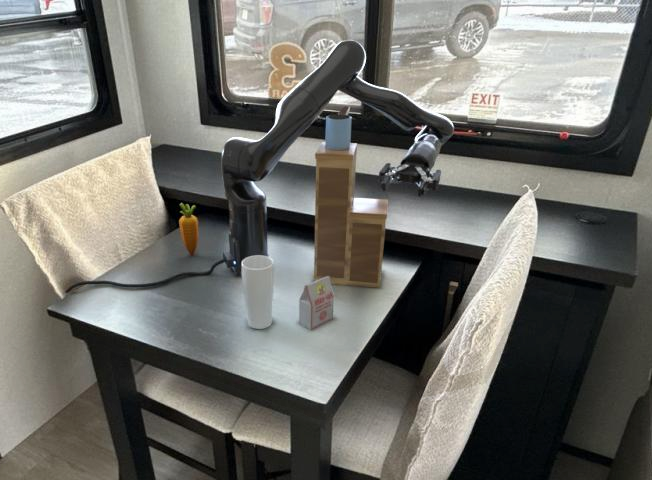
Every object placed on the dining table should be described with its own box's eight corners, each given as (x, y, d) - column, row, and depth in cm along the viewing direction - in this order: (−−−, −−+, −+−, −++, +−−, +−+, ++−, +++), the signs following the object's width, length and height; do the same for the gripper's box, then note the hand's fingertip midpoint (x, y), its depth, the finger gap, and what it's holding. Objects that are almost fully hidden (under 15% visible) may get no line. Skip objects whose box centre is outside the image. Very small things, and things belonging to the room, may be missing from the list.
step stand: (380, 288, 132) (392, 156, 116) (312, 282, 135) (315, 153, 119) (382, 270, 140) (393, 144, 124) (318, 265, 143) (321, 141, 127)
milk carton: (299, 322, 120) (299, 282, 115) (321, 312, 124) (322, 272, 118) (310, 329, 117) (311, 289, 112) (333, 318, 121) (334, 278, 116)
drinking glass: (272, 333, 116) (270, 270, 109) (241, 330, 118) (237, 268, 110) (278, 316, 122) (276, 256, 115) (248, 314, 123) (245, 253, 116)
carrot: (204, 253, 151) (200, 202, 143) (193, 261, 147) (187, 208, 140) (190, 250, 153) (185, 198, 146) (179, 256, 150) (172, 204, 142)
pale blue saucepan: (348, 150, 120) (350, 120, 117) (323, 149, 121) (324, 119, 118) (356, 131, 135) (357, 103, 132) (333, 130, 136) (334, 102, 133)
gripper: (392, 143, 141) (373, 171, 130) (449, 150, 135) (433, 180, 124) (391, 170, 146) (371, 199, 135) (445, 177, 140) (430, 209, 129)
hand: (401, 190), depth 130 cm, fingers open, 8 cm apart
